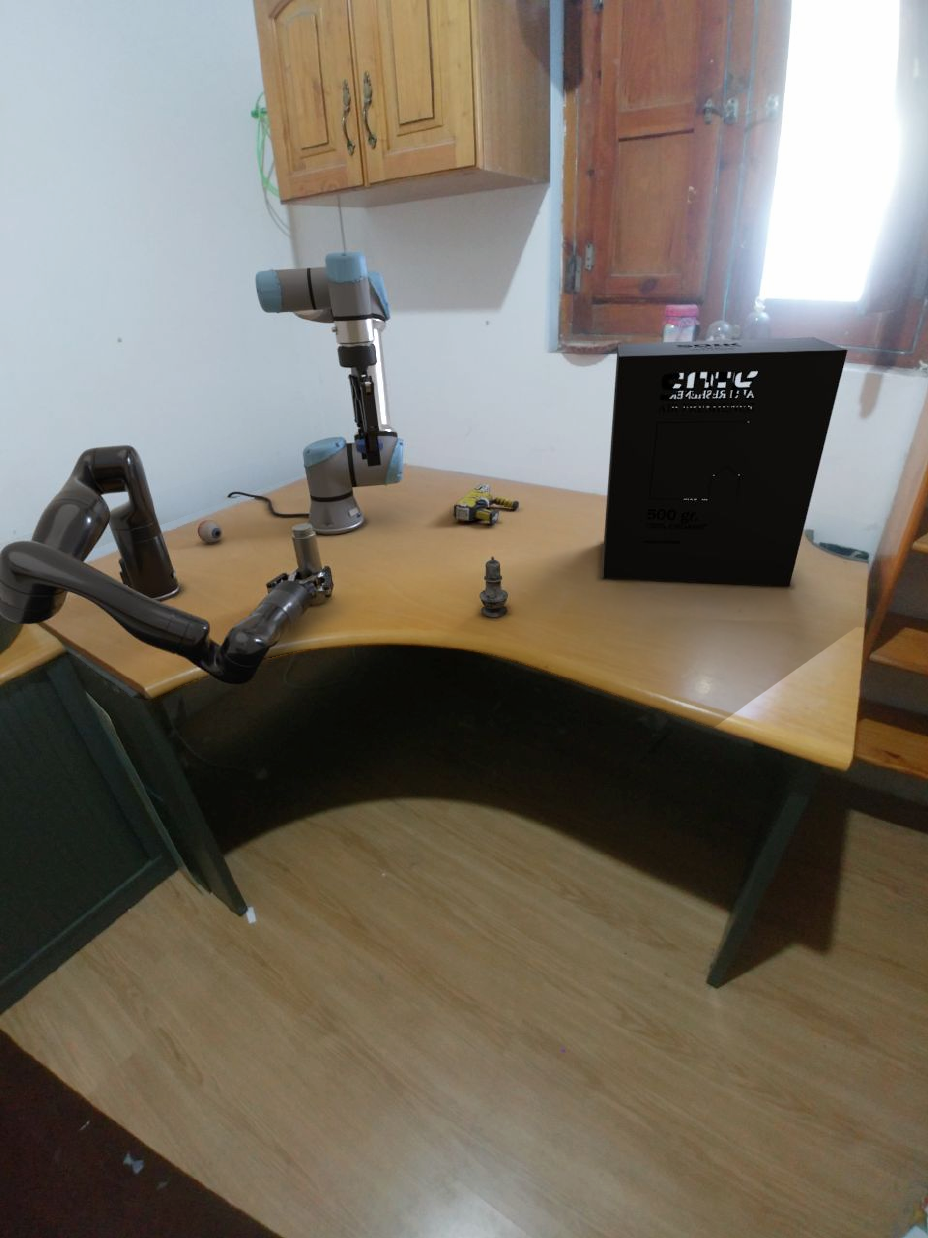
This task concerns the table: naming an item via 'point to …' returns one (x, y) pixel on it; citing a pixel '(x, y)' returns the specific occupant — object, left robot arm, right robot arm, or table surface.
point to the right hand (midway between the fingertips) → (371, 461)
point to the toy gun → (480, 505)
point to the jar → (307, 555)
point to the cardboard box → (716, 458)
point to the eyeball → (209, 531)
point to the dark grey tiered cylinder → (493, 591)
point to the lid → (361, 446)
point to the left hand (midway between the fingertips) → (316, 569)
